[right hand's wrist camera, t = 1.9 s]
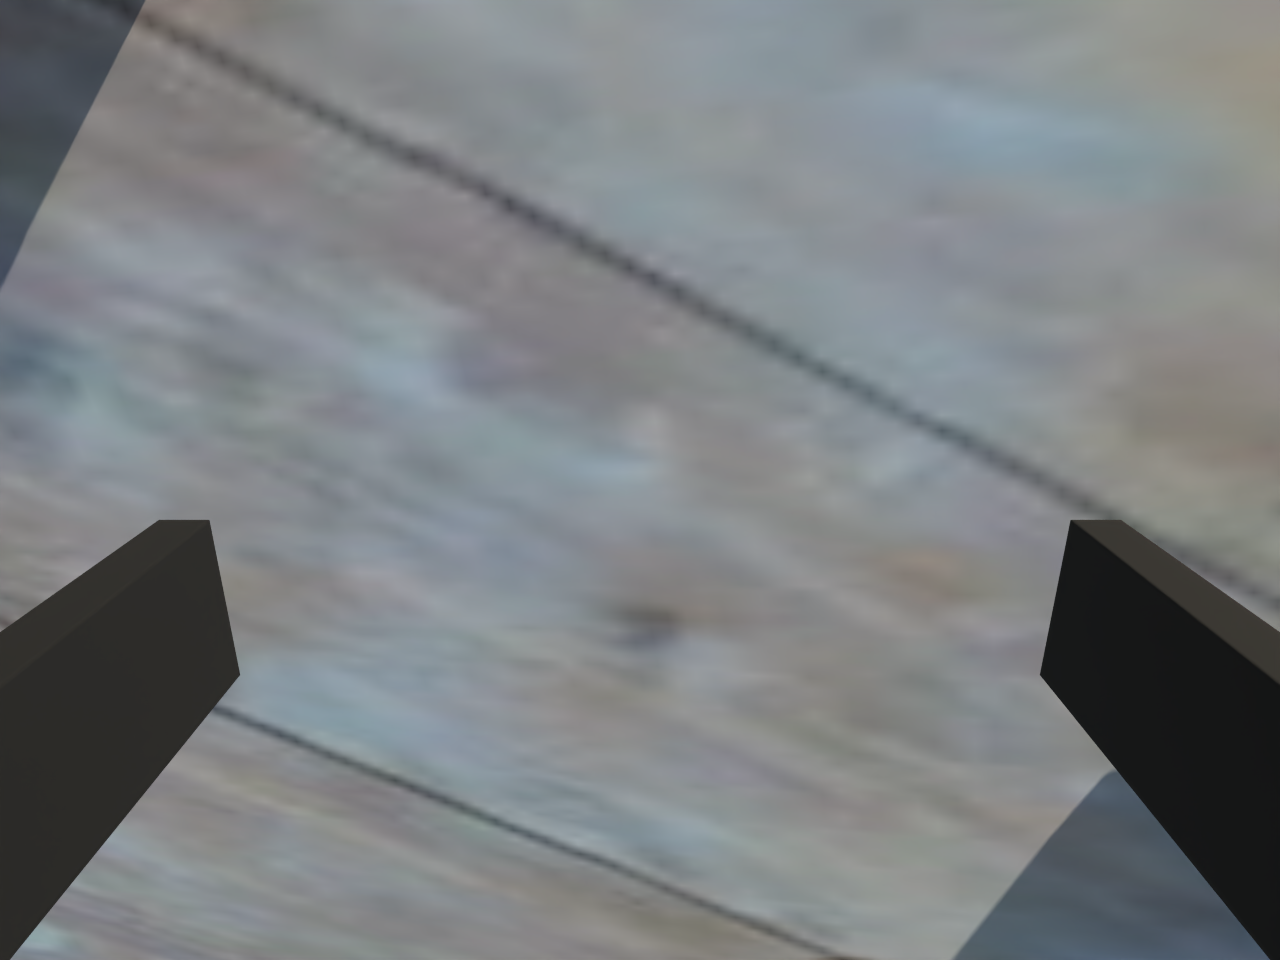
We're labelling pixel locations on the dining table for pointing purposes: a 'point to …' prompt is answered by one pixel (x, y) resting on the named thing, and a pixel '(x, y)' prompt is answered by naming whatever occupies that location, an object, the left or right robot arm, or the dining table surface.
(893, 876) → the dining table surface
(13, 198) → the dining table surface
